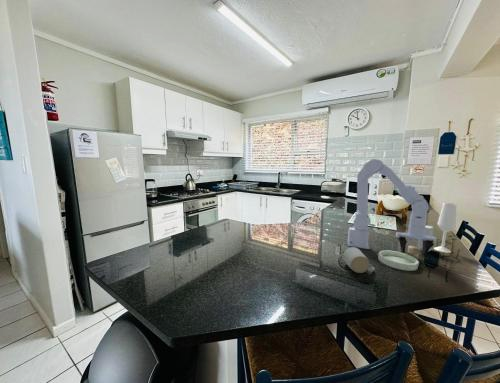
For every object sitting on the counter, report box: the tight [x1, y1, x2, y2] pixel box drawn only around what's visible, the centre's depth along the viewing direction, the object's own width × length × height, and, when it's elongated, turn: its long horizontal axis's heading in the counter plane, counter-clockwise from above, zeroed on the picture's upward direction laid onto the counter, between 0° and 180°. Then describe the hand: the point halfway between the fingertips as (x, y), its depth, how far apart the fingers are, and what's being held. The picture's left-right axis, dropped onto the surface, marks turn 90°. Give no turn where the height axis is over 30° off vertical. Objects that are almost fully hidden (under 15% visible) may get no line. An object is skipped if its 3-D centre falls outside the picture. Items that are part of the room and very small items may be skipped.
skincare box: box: [416, 225, 435, 252], centre depth 107 cm, size 6×4×12 cm
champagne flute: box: [433, 202, 457, 254], centre depth 107 cm, size 7×7×24 cm
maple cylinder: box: [406, 245, 420, 261], centre depth 97 cm, size 4×4×5 cm
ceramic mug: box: [342, 246, 375, 274], centre depth 84 cm, size 11×8×8 cm
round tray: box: [377, 249, 420, 272], centre depth 91 cm, size 14×14×3 cm
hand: (412, 254), depth 97 cm, fingers open, 7 cm apart
